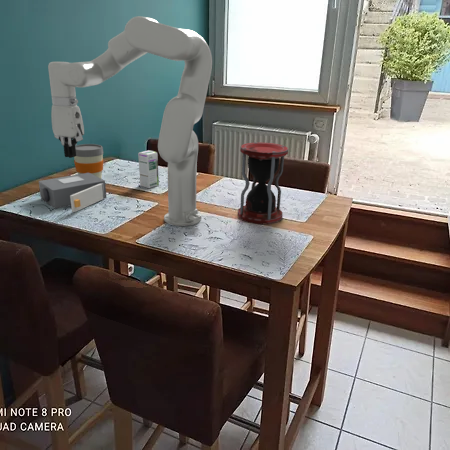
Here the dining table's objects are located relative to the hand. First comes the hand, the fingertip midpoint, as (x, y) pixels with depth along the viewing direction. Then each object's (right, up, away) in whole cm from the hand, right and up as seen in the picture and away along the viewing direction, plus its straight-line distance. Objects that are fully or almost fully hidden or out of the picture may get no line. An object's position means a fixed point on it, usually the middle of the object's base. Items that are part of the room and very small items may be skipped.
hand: (70, 156), depth 148 cm
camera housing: (-5, -13, +17) cm, 22 cm away
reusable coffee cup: (-5, -5, +38) cm, 39 cm away
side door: (+4, -16, +10) cm, 19 cm away
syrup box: (+21, -7, +35) cm, 41 cm away
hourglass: (+66, -21, +6) cm, 69 cm away
